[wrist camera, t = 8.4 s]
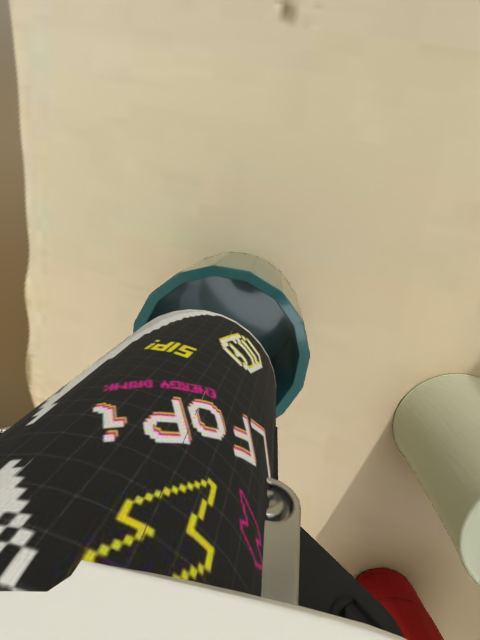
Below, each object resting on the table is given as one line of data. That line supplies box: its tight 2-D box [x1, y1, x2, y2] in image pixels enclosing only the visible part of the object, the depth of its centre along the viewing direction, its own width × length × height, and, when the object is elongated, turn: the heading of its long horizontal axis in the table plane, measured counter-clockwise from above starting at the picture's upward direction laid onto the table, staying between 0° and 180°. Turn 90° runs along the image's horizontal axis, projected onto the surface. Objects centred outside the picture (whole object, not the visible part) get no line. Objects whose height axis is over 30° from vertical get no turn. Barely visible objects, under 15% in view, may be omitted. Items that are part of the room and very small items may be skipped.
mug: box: [133, 252, 310, 418], centre depth 26 cm, size 13×10×9 cm
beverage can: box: [0, 309, 276, 597], centre depth 8 cm, size 6×6×12 cm
